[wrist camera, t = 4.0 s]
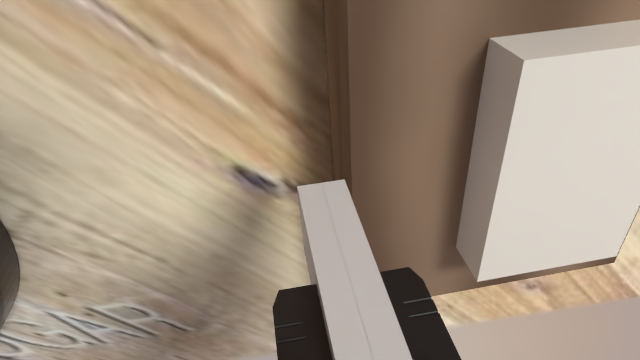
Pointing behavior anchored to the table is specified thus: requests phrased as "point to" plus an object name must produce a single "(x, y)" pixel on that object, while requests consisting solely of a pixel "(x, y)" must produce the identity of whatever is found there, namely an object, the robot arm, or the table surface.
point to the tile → (553, 151)
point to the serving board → (425, 116)
